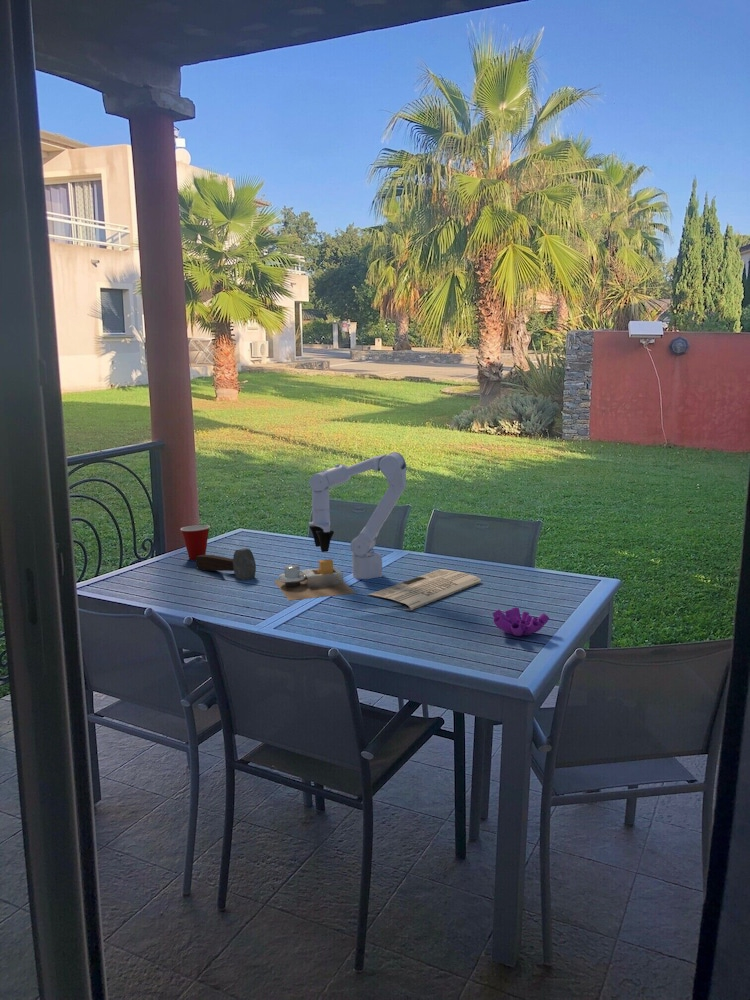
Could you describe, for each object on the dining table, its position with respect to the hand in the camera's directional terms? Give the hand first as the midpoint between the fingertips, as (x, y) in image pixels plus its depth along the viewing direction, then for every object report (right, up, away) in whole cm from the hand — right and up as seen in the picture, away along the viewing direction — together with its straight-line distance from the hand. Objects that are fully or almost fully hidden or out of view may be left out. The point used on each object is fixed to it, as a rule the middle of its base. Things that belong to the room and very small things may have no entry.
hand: (321, 548), depth 262 cm
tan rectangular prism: (+2, -10, -8) cm, 13 cm away
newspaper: (+34, -13, -14) cm, 40 cm away
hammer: (-34, -10, +6) cm, 36 cm away
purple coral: (+56, -20, -52) cm, 79 cm away
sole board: (-2, -13, -13) cm, 18 cm away
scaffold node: (-3, -10, -10) cm, 15 cm away
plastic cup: (-48, -5, +29) cm, 56 cm away
